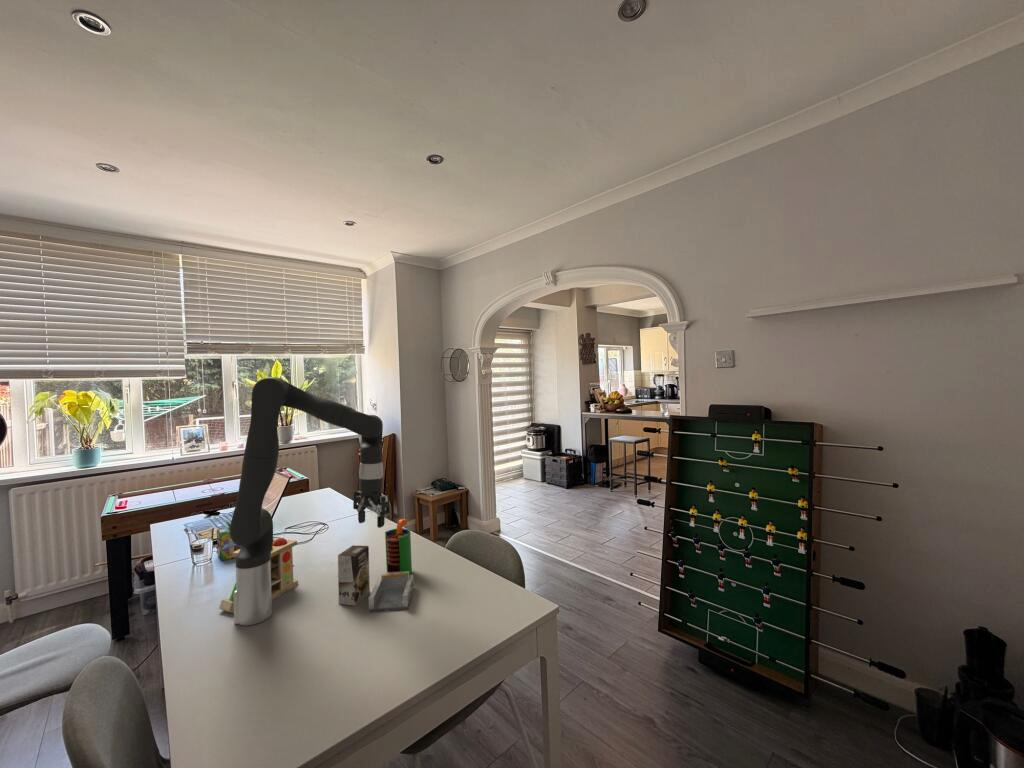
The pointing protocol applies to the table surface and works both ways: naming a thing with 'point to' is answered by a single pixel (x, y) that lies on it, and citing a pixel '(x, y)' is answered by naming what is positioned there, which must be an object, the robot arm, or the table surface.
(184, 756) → the table surface
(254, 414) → the robot arm
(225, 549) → the chalk box
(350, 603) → the coffee box
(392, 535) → the motor
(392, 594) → the grey open tray
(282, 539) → the pounding bench toy
